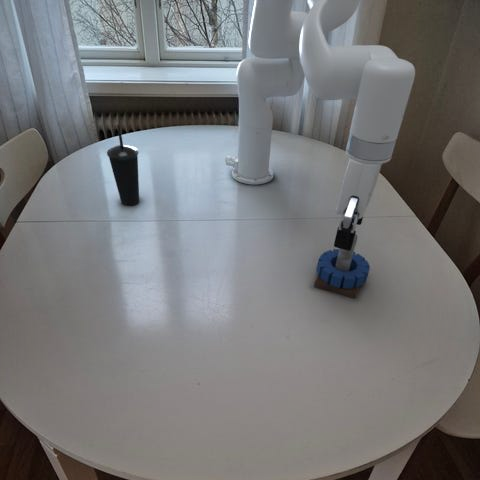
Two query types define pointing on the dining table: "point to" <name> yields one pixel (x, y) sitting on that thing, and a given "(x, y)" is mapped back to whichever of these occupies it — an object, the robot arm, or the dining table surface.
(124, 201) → the drinking cup
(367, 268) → the ring
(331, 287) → the peg on square base
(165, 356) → the dining table surface
